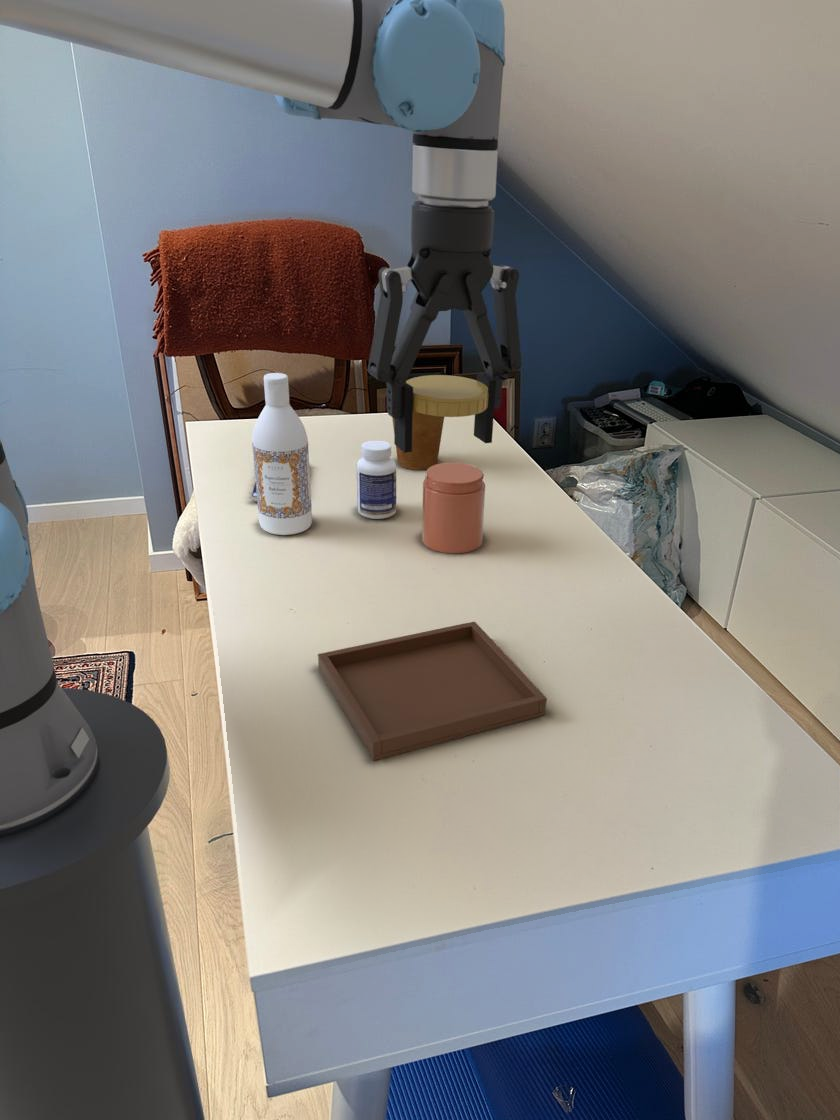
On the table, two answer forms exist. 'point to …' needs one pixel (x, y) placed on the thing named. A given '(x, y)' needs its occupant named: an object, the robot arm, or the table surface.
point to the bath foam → (281, 462)
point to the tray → (428, 688)
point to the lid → (448, 395)
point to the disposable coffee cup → (422, 442)
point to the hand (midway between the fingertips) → (443, 443)
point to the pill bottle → (376, 481)
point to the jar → (453, 508)
